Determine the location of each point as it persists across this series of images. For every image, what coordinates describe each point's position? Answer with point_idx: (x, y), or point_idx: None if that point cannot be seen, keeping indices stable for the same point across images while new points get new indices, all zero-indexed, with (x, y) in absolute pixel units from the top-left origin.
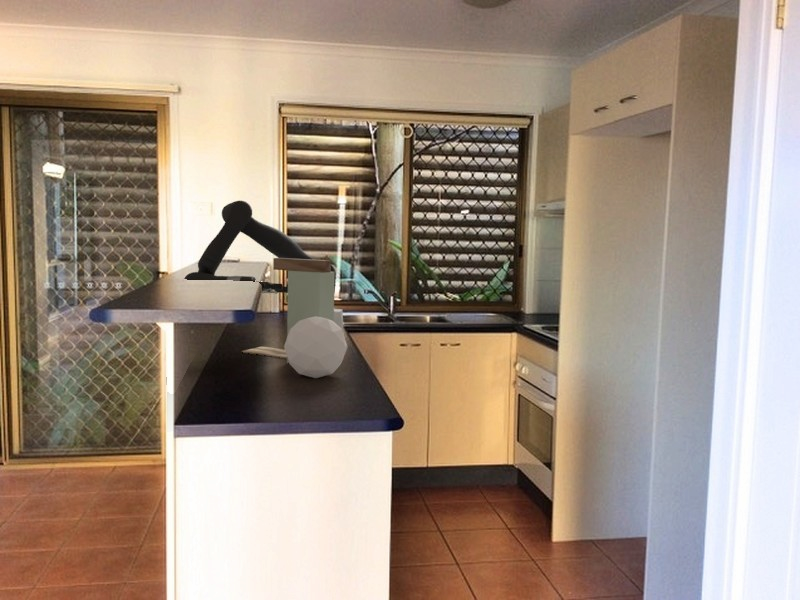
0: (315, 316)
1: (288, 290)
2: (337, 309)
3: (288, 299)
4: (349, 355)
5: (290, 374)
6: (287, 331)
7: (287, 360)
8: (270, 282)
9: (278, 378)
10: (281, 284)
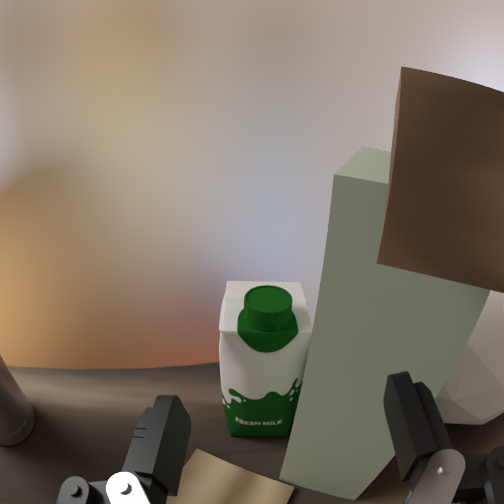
0: (492, 299)
1: (471, 329)
2: (243, 289)
3: (450, 369)
4: (199, 376)
5: (462, 441)
6: (391, 458)
7: (357, 496)
8: (453, 457)
9: (499, 443)
10: (407, 377)
